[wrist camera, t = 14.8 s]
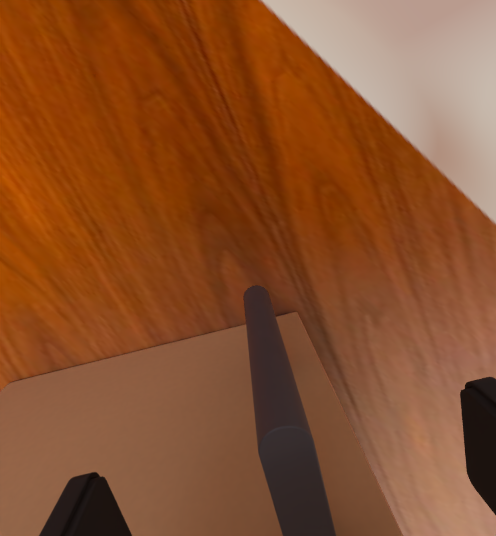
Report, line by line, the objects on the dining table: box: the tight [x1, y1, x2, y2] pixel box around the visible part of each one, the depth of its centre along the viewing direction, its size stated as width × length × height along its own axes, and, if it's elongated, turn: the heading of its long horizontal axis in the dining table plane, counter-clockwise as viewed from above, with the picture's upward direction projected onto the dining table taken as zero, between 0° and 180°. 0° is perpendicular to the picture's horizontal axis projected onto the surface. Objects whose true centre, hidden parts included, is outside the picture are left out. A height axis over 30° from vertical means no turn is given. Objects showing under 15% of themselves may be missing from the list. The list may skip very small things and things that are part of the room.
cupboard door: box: [0, 286, 403, 536], centre depth 17 cm, size 7×26×24 cm, turn 104°
